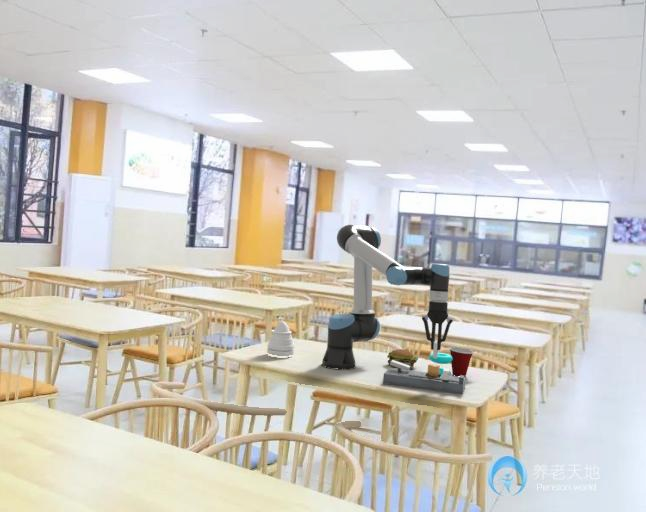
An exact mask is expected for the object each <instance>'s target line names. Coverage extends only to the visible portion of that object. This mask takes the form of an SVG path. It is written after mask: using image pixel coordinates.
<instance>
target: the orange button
mask: <svg viewBox="0 0 646 512" xmlns="http://www.w3.org/2000/svg"><path fill="white" fill-rule="evenodd" d="M440 366H441V365H439V364H436V363H434V364H433V363H430V364H427V372H428V373H427V376H432V377H439V370H440V368H441V367H440Z"/></svg>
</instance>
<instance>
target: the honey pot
mask: <svg viewBox="0 0 646 512" xmlns="http://www.w3.org/2000/svg"><path fill="white" fill-rule="evenodd" d="M284 320H285V317H278V321H279V322H278V323H277V324H276V326H275V327H274V329H271V331H270V333H271V336H270V337H269V340H268V344H267V350H266V354H267V353H269V354H272V355H277V356H289V355H293V354H294V355H295V343H294V340H293V337H292V333H293V331H292V330H290V327H289V325H288V324H287V323H286V321H284Z"/></svg>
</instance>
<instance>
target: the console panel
mask: <svg viewBox="0 0 646 512" xmlns="http://www.w3.org/2000/svg"><path fill="white" fill-rule="evenodd" d="M427 373H428V371H427V372H426V371H418V370H413V369H412V370H410V369H409V371H407V370H404V369H401V368H394V367H389V368H388V369H387V370H386V371H385V372H384V373H383V378H382V384H384V385H385V384H386V385H391V384H392V385H393V386H399V387H405V388H412V389H413V388H415V389H422V390H427V391H428V390H430V391H436V392H441V393H450V394H457V395H463V394H464V391H465V388H466V382H467V377H466V376H465V377H464V376H463V375H460V377H458V376H454V375H452V374H451V375H450V378H449V380H442V378H443V374H439V377H432V376H427Z"/></svg>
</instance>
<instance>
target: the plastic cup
mask: <svg viewBox="0 0 646 512" xmlns="http://www.w3.org/2000/svg"><path fill="white" fill-rule="evenodd" d="M449 353H450V355H451V356H452V358H453V360H452V361H451V362H450V363H451V370H452V371H451V374H452V376H454V375H455V376H460V375H463V376H465V377H466V376H467V373H468V369H469V366H470V361H471V358H472V356H473V354H474V351H473V350H471V349H469V348H463V347H457V346H451V347H449Z"/></svg>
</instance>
